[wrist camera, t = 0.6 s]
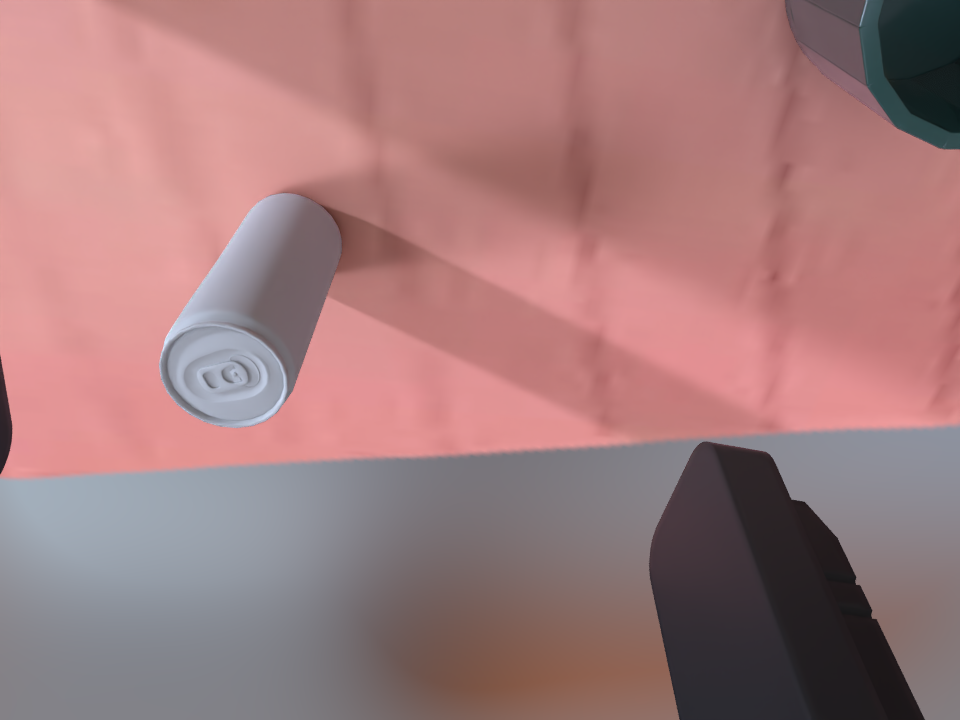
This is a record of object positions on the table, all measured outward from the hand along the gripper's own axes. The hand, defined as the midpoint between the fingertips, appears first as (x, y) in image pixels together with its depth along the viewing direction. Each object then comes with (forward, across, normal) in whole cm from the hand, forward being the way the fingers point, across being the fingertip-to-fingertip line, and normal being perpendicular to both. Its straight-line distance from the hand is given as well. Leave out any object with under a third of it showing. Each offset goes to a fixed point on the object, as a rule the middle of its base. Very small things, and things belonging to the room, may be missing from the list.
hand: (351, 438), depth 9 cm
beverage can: (+28, +5, +12) cm, 31 cm away
